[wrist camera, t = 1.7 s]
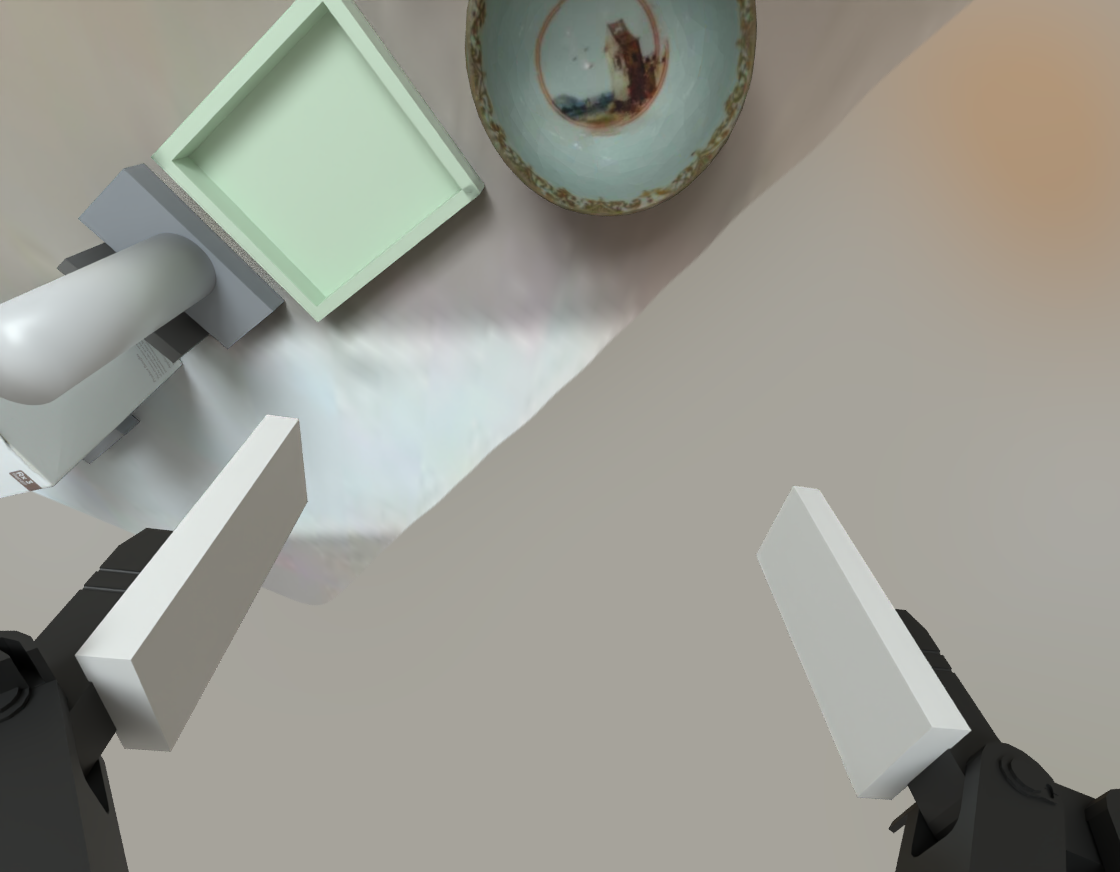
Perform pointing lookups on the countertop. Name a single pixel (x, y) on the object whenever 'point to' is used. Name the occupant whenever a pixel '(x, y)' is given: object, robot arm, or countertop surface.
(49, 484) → the skincare box
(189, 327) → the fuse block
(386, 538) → the countertop surface
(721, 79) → the bowl
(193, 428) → the countertop surface
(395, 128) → the tray
